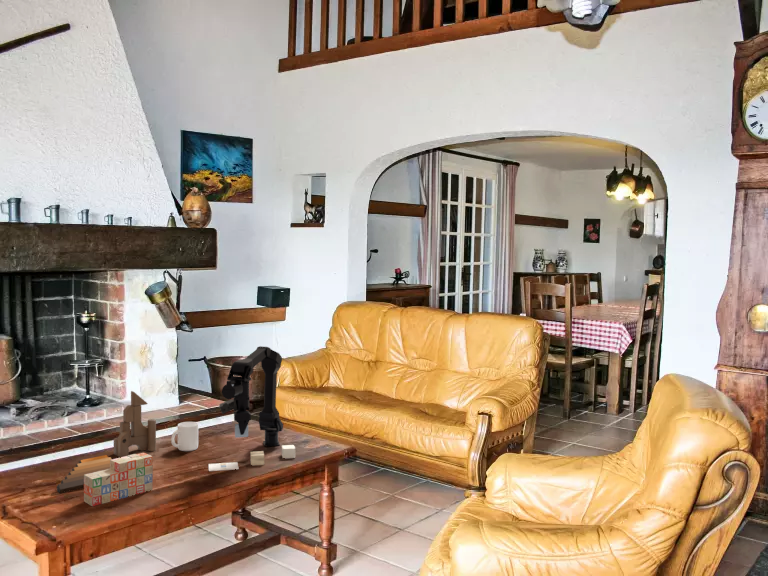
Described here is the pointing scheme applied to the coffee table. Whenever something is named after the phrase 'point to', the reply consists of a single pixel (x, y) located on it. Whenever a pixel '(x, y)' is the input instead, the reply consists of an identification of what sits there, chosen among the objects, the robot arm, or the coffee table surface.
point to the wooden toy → (135, 429)
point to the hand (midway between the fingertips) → (241, 432)
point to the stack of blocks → (119, 479)
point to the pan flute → (83, 473)
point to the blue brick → (237, 431)
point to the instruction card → (223, 466)
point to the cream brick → (288, 451)
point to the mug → (186, 436)
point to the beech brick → (257, 458)
